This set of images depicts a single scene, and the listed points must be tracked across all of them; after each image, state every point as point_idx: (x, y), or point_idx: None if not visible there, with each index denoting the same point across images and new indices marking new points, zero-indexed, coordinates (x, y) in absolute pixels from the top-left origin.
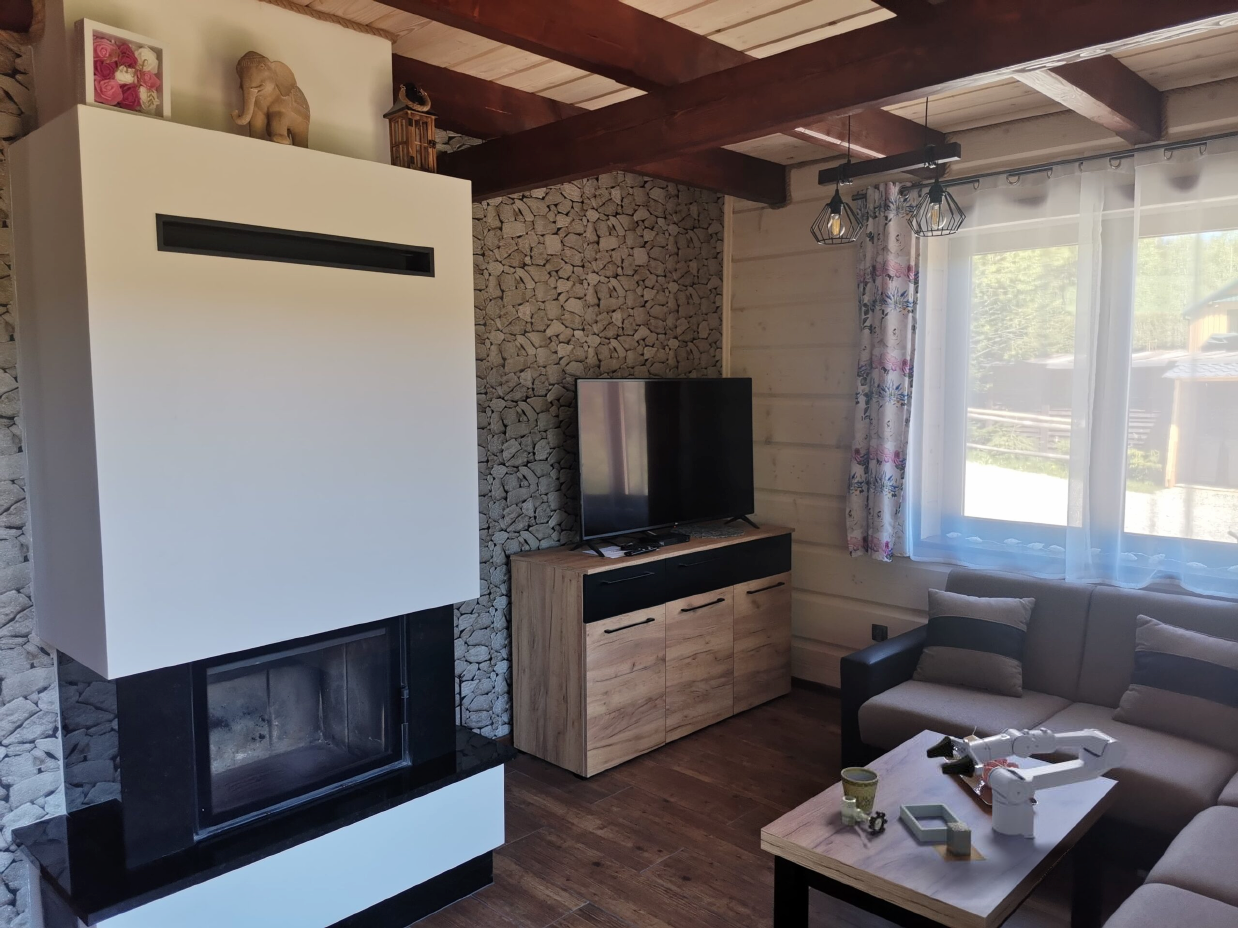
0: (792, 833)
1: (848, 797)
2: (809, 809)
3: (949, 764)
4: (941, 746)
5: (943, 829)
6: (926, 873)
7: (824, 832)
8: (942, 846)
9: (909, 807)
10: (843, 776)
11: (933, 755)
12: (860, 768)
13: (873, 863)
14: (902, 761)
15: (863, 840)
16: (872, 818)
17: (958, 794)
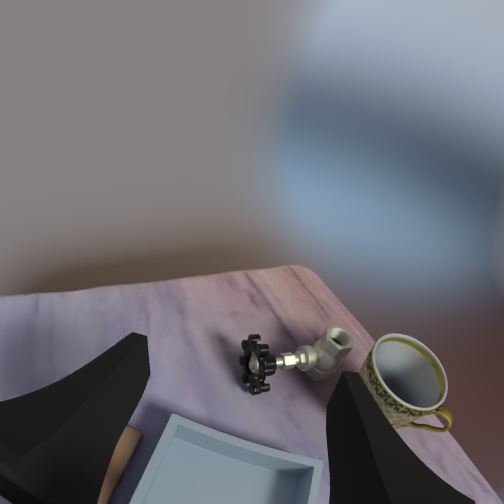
0: (296, 280)
1: (348, 343)
2: (369, 340)
3: (108, 353)
4: (366, 462)
5: (146, 468)
6: (77, 343)
7: (288, 314)
8: (122, 447)
9: (309, 481)
10: (400, 334)
11: (333, 431)
12: (443, 390)
13: (160, 304)
14: None
15: (239, 345)
16: (252, 334)
17: None
